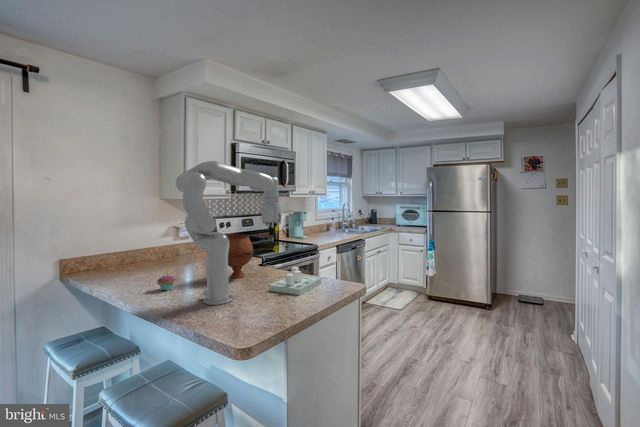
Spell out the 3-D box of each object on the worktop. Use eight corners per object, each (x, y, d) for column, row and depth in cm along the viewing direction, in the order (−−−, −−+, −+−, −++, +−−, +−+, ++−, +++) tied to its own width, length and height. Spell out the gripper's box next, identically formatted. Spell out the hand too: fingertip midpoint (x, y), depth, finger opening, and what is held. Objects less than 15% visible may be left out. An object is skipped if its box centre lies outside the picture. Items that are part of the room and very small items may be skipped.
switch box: (269, 290, 166) (269, 284, 166) (292, 280, 186) (292, 274, 185) (299, 295, 158) (299, 288, 158) (320, 283, 177) (320, 278, 177)
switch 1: (285, 285, 164) (285, 275, 164) (288, 283, 166) (288, 273, 166) (290, 285, 162) (290, 275, 162) (293, 284, 165) (293, 274, 165)
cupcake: (165, 287, 176) (164, 264, 175) (179, 287, 174) (178, 265, 173) (153, 291, 167) (152, 268, 166) (168, 292, 165) (167, 269, 165)
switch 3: (293, 281, 170) (293, 271, 170) (296, 280, 173) (296, 270, 173) (298, 282, 169) (298, 272, 169) (301, 280, 172) (301, 271, 171)
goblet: (235, 283, 182) (233, 238, 180) (214, 278, 193) (212, 236, 192) (260, 275, 197) (259, 234, 195) (240, 271, 208) (239, 232, 207)
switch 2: (291, 276, 180) (291, 267, 180) (294, 275, 183) (294, 266, 182) (296, 277, 179) (295, 268, 178) (298, 276, 181) (298, 267, 181)
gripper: (255, 200, 173) (256, 235, 175) (279, 200, 167) (279, 236, 168) (264, 200, 180) (265, 233, 181) (287, 200, 173) (287, 235, 174)
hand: (272, 235), depth 174 cm, fingers closed
